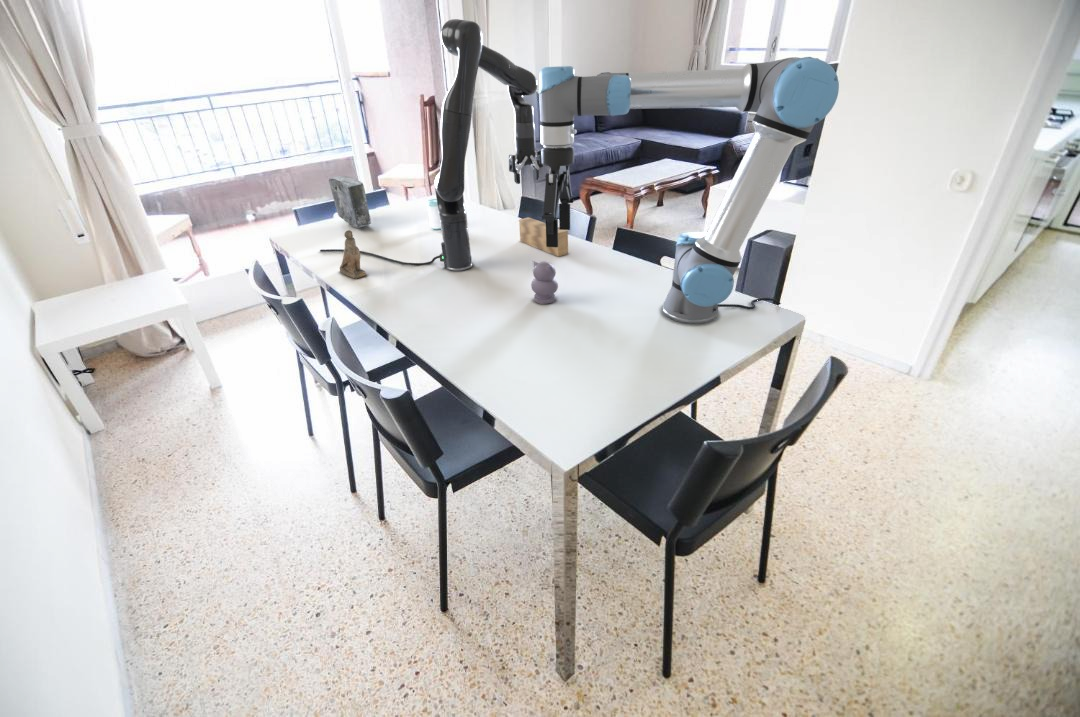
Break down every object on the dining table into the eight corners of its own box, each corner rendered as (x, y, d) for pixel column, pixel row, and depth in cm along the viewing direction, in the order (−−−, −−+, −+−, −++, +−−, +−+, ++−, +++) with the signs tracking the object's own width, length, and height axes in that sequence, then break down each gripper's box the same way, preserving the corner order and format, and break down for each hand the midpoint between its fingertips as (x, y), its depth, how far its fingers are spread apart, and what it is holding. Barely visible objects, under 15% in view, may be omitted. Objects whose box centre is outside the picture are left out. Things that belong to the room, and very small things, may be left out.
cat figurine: (563, 298, 154) (563, 262, 147) (546, 307, 149) (545, 269, 143) (543, 291, 159) (542, 255, 152) (526, 299, 154) (524, 263, 148)
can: (445, 229, 220) (441, 202, 214) (429, 230, 220) (425, 202, 214) (447, 224, 226) (444, 198, 220) (432, 225, 226) (428, 198, 220)
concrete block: (376, 229, 224) (366, 183, 213) (356, 233, 219) (346, 186, 209) (356, 217, 242) (347, 174, 232) (338, 220, 238) (327, 177, 228)
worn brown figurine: (368, 281, 178) (362, 235, 166) (353, 285, 175) (347, 238, 163) (352, 266, 184) (346, 221, 172) (338, 270, 181) (331, 224, 169)
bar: (520, 241, 203) (519, 219, 199) (529, 238, 206) (528, 217, 201) (558, 256, 186) (558, 233, 182) (568, 253, 189) (567, 230, 184)
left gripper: (534, 132, 187) (535, 177, 196) (502, 137, 180) (506, 183, 189) (546, 134, 182) (547, 180, 191) (514, 138, 175) (517, 186, 183)
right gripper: (561, 155, 101) (562, 255, 112) (584, 137, 121) (583, 223, 132) (526, 155, 103) (530, 253, 114) (554, 137, 123) (555, 222, 134)
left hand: (526, 181), depth 190 cm, fingers open, 8 cm apart
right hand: (558, 237), depth 123 cm, fingers open, 13 cm apart
